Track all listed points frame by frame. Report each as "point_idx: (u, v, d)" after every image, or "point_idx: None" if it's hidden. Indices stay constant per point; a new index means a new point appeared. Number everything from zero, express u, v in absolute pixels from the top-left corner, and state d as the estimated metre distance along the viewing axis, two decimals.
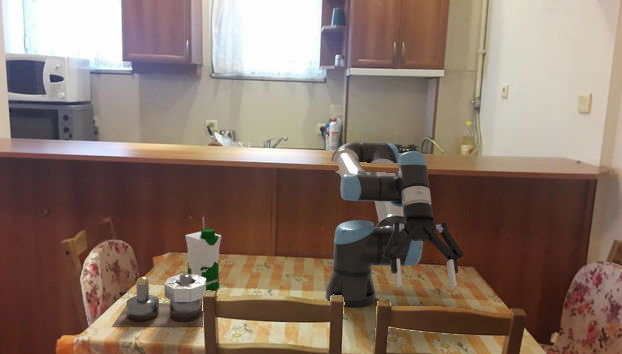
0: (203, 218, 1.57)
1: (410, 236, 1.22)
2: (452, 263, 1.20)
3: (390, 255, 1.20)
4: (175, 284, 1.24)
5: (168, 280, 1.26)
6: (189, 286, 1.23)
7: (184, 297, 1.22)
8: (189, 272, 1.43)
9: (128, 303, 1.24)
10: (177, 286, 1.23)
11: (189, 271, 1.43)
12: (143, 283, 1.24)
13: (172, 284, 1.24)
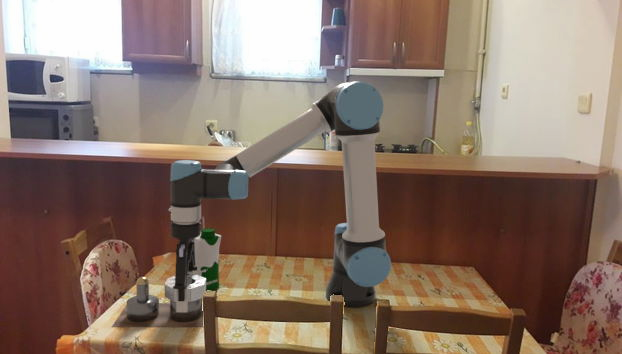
0: (203, 218, 1.57)
1: None
2: None
3: None
4: None
5: (168, 280, 1.26)
6: (189, 286, 1.23)
7: None
8: None
9: (128, 303, 1.24)
10: None
11: None
12: (143, 283, 1.24)
13: (172, 284, 1.24)
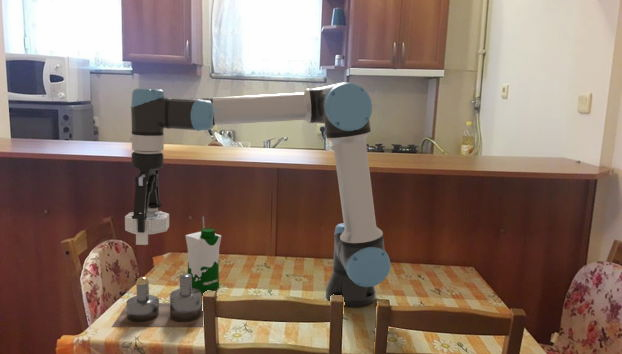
0: (203, 218, 1.57)
1: None
2: (136, 222, 1.17)
3: None
4: None
5: (129, 214, 1.23)
6: (150, 218, 1.19)
7: None
8: (189, 272, 1.43)
9: (128, 303, 1.24)
10: None
11: (189, 271, 1.43)
12: (143, 283, 1.24)
13: None
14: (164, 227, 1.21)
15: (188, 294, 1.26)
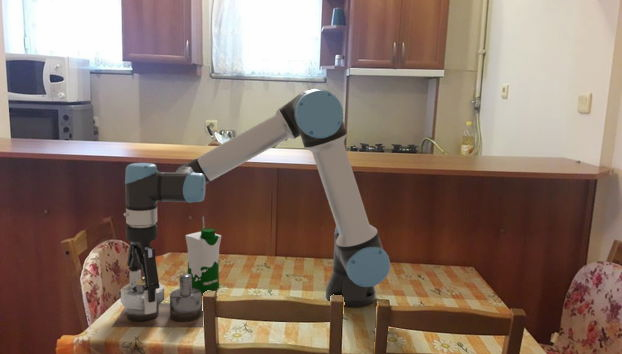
0: (203, 218, 1.57)
1: (132, 255, 1.26)
2: (144, 293, 1.19)
3: None
4: (136, 292, 1.23)
5: (124, 290, 1.23)
6: None
7: None
8: (189, 272, 1.43)
9: None
10: (140, 294, 1.22)
11: (189, 271, 1.43)
12: (143, 283, 1.24)
13: (133, 293, 1.22)
14: (163, 296, 1.27)
15: (188, 294, 1.26)
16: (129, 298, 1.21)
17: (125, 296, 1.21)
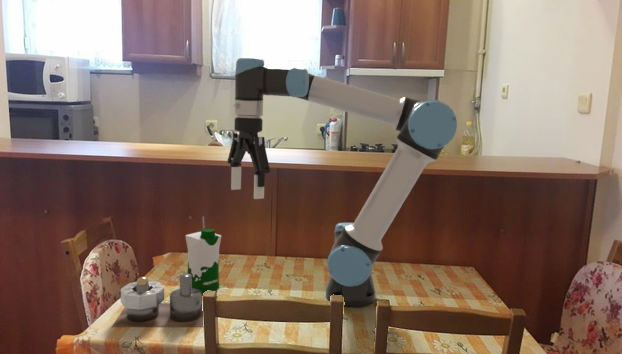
0: (203, 218, 1.57)
1: (237, 148, 1.34)
2: (254, 178, 1.27)
3: None
4: (136, 292, 1.23)
5: (124, 290, 1.23)
6: (152, 291, 1.24)
7: (150, 303, 1.22)
8: (189, 272, 1.43)
9: None
10: (140, 294, 1.22)
11: (189, 271, 1.43)
12: (143, 283, 1.24)
13: (133, 293, 1.22)
14: (163, 296, 1.27)
15: (188, 294, 1.26)
16: (129, 298, 1.21)
17: (125, 296, 1.21)
